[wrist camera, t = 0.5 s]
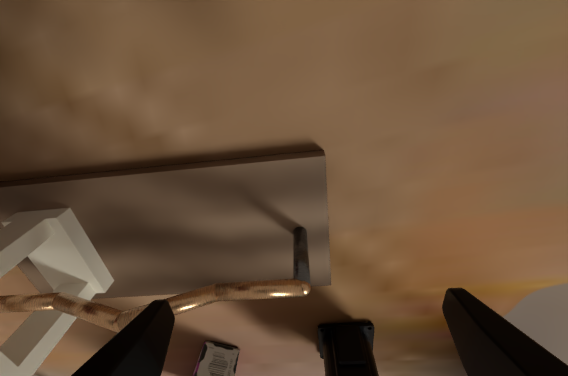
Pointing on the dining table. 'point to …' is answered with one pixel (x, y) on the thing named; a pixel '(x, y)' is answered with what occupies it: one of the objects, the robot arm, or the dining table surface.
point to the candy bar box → (216, 360)
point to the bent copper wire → (178, 303)
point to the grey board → (190, 221)
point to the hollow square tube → (48, 279)
